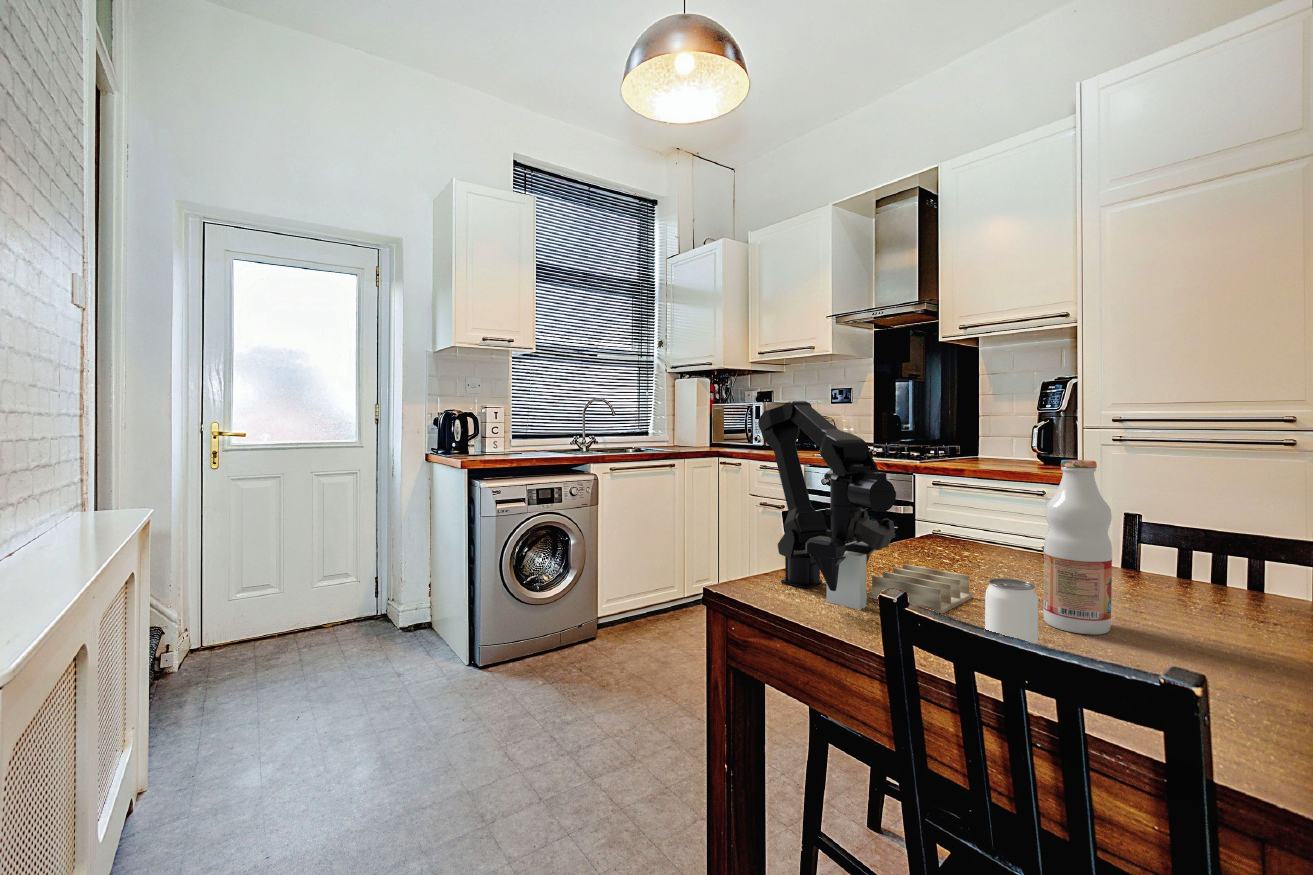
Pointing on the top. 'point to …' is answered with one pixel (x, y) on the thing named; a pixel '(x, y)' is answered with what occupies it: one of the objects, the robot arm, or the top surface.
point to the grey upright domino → (850, 582)
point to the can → (1012, 609)
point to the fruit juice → (1078, 554)
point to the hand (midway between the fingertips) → (846, 585)
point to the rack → (925, 587)
